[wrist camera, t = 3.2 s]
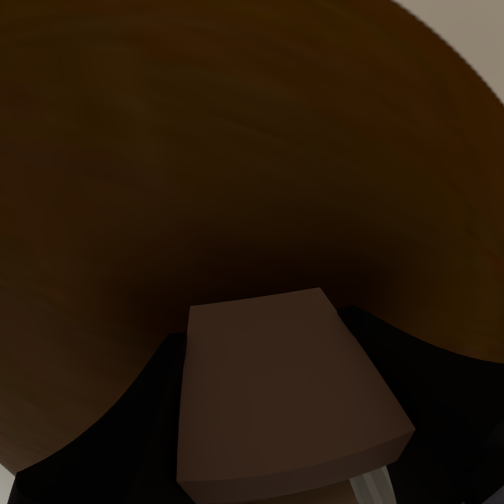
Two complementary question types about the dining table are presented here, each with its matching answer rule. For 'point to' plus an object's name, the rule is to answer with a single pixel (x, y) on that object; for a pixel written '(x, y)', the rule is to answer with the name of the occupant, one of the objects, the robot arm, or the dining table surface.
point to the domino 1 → (280, 401)
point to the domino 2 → (361, 490)
